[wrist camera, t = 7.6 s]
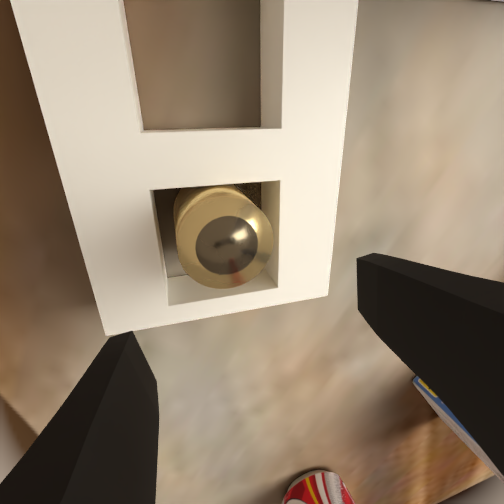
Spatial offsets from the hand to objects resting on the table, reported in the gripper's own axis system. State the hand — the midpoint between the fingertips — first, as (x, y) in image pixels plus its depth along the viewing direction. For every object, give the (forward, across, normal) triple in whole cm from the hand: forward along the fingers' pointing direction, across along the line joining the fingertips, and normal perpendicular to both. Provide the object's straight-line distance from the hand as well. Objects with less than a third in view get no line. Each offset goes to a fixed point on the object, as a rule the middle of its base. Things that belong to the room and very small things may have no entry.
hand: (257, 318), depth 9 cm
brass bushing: (+9, 0, -1) cm, 9 cm away
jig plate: (+9, -1, -4) cm, 10 cm away
